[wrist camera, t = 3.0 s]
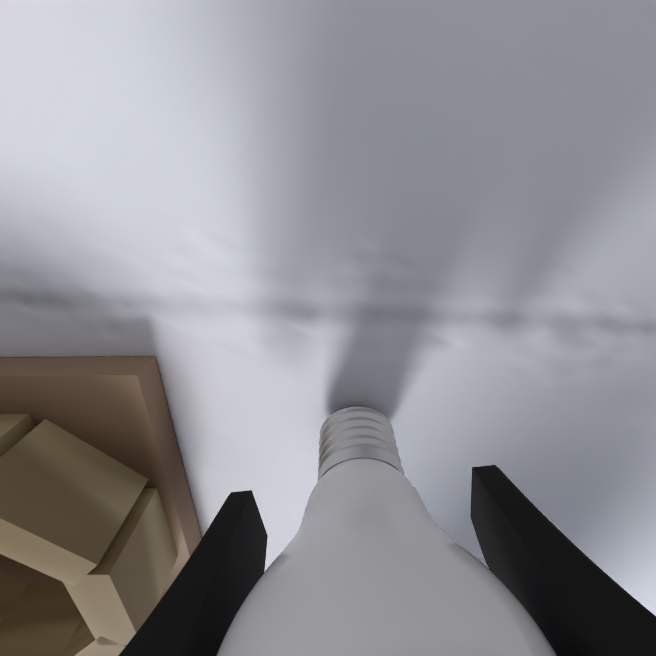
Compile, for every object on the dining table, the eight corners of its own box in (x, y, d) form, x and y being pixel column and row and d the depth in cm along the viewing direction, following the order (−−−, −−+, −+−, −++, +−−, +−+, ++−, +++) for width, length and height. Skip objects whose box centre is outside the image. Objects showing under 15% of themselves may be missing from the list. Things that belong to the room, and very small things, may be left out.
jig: (231, 650, 20) (207, 763, 16) (30, 650, 20) (-40, 762, 16) (155, 356, 12) (69, 445, 8) (-186, 358, 12) (-434, 447, 8)
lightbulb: (329, 503, 15) (328, 1210, 5) (237, 402, 12) (-140, 1335, 2) (465, 444, 13) (891, 1286, 3) (389, 317, 11) (976, 1753, 1)
